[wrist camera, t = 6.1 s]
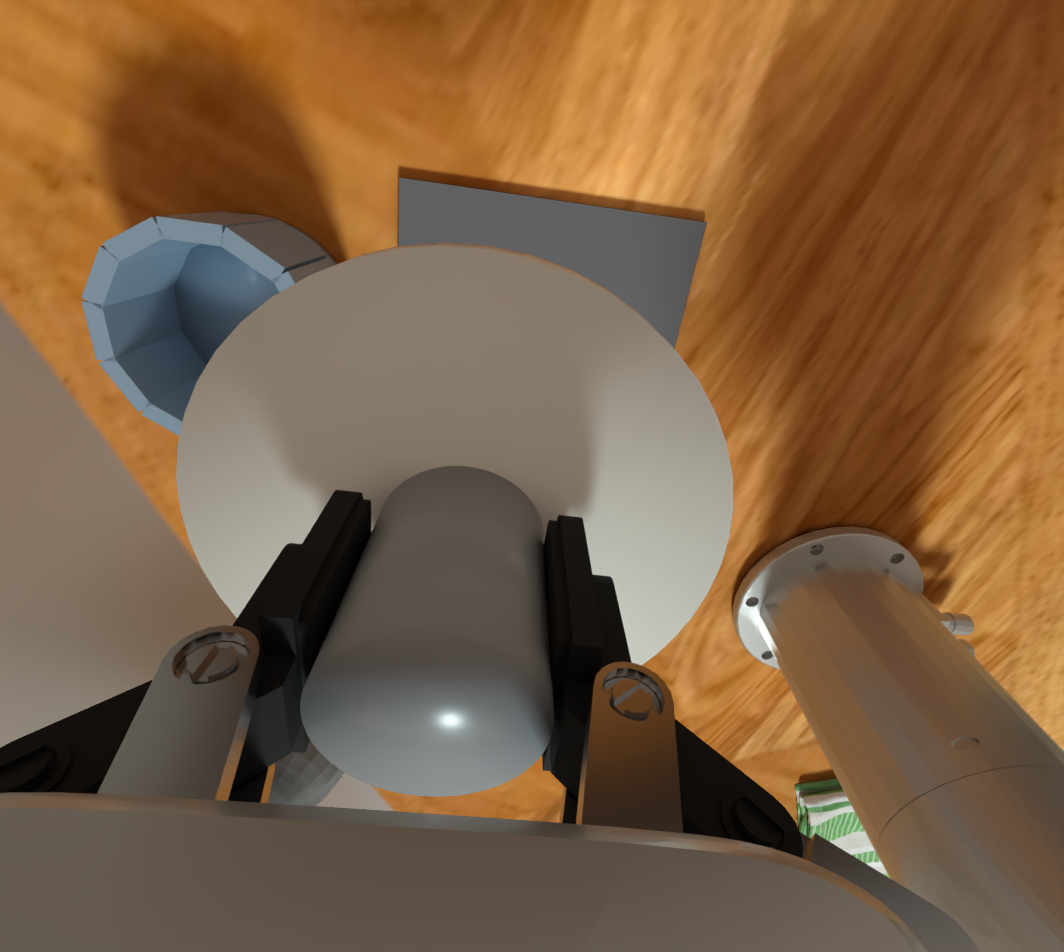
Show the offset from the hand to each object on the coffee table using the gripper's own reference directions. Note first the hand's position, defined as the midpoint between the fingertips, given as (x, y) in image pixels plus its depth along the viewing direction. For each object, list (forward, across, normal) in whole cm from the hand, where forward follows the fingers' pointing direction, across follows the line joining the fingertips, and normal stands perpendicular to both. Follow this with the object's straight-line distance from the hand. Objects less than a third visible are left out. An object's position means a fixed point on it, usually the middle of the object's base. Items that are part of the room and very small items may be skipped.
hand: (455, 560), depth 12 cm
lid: (+2, 0, 0) cm, 2 cm away
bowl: (+20, +12, 0) cm, 23 cm away
